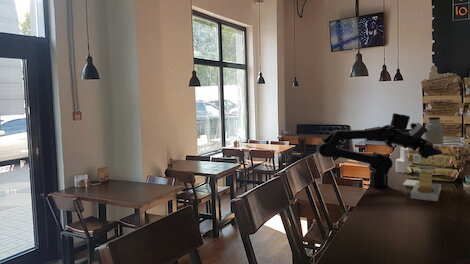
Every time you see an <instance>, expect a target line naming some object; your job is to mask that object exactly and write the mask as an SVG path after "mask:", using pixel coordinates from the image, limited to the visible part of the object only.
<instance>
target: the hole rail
mask: <svg viewBox="0 0 470 264" xmlns="http://www.w3.org/2000/svg"><path fill="white" fill-rule="evenodd" d="M441 190H442V184H441V183H433V182H432V192H424V191H419V182H416V184H415V186H414V187H413V188H412V189H411V190H410V199H412V200H413V199H415V200H422V201H423V200H424V201H433V202H438V201H439V198H440V194H441Z"/></svg>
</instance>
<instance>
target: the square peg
mask: <svg viewBox="0 0 470 264" xmlns="http://www.w3.org/2000/svg"><path fill="white" fill-rule="evenodd" d="M418 176H419V179H418V181H419V191H424V192H432V183H433V176H432V173H425V172H424V171H421V172H419V175H418Z"/></svg>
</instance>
